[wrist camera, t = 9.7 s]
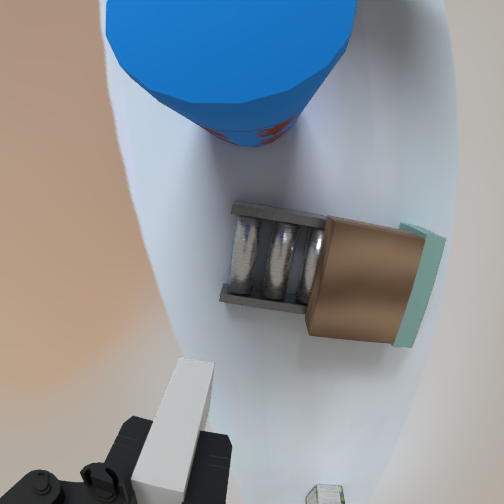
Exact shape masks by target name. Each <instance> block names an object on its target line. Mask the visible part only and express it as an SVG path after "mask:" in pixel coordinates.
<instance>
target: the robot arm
mask: <svg viewBox="0 0 504 504" xmlns="http://www.w3.org/2000/svg"><path fill="white" fill-rule="evenodd" d="M214 364H215V363H210V362H205V361H199V360H194V359H189V358H183V357H180V358H179V360H178V363H177V365H176V367H175V370H174V372H173V374H172V377H171V379H170V382H169V384H168V387H167V389H166V392H165V394H164V396H163V399H162V401H161V404H160V406H159V409H158V411H157V414H156V416H155V419H154V421H151V420H147V419H143V418H139V417H136V416H132V417H131V418H130V419H128V420H127V421H126V422H124V423H123V425H122V427H121V429H120V431H119V434H118V436H117V437H116V439H115V442H114V444H113V445H112V448H111V450H110V452H109V454H108V456H107V458H106V460H105V462H104V463H100V462H98V463H91V464H89V465H87V466H85V467H84V468H83V469H82V470H81V471H80V474H81V476H82V478H83V481H84V482H68V481H60V480H58V479H57V478H56V477H55V476H54V475H53V474H52V473H50V472H48V471H45V470H34V471H31V472H29V473H28V474H26V475H25V476H24V477H23V478H22V479H21V480H20V481H19V482H17V483H16V484H15V485H14V486H13V487H12V488H11V489H10V490H9V491H8V492H6V493H5V494H4V495H3V496H2V497H1V498H0V504H226V493H227V485H228V477H229V468H230V460H231V452H232V445H231V442H230V440H229V437H228V435H224V434H218V433H212V432H206V431H205V426H206V422H207V417H208V412H209V408H210V399H211V390H212V381H213V373H214Z"/></svg>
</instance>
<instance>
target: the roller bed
mask: <svg viewBox="0 0 504 504" xmlns="http://www.w3.org/2000/svg"><path fill="white" fill-rule="evenodd" d="M231 214H237V215H238V216H237V223H236V230H235V237H234V244H233V251H232V258H231V265H230V272H229V279H228V284H223V287H222V290H221V293H220V300H219V301H220V302H226V303H232V304H238V305H245V306H251V307H258V308H265V309H271V310H278V311H285V312H293V313H300V314H306V312H307V308H308V303H309V299H310V295H311V291H312V286H313V282H314V277H315V273H316V268H317V264H318V259H319V254H320V250H321V245H322V240H323V235H324V230H325V225H326V220H327V216H323V215H317V214H311V213H306V212H300V211H294V210H288V209H282V208H276V207H270V206H264V205H257V204H251V203H245V202H238V201H235V202H234V203H233V205H232V212H231ZM263 219H269V220H274V224H273V230H272V236H271V241H270V247H269V253H268V259H267V265H266V270H265V276H264V282H263V288H262V290H260V289H254V288H252V284H253V278H254V272H255V266H256V260H257V254H258V247H259V241H260V235H261V229H262V223H263ZM299 224H300V225H305V226H310V227H309V233H308V238H307V243H306V248H305V253H304V258H303V263H302V268H301V273H300V278H299V282H298V287H297V292H296V295H294V294H287V293H286V291H287V286H288V281H289V276H290V271H291V266H292V261H293V256H294V251H295V245H296V240H297V235H298V229H299Z"/></svg>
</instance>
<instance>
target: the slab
mask: <svg viewBox="0 0 504 504" xmlns="http://www.w3.org/2000/svg"><path fill="white" fill-rule="evenodd" d="M424 244H425V239H423V238H421V237H419V236H417V235H415V234H413V233H411V232H408V231H403V230H398V229H394V228H389V227H384V226H379V225H374V224H369V223H364V222H359V221H354V220H349V219H344V218H338V217H333V216H328V215H327V220H326V225H325V230H324V235H323V240H322V245H321V250H320V254H319V259H318V264H317V268H316V273H315V277H314V282H313V286H312V291H311V295H310V299H309V303H308V308H307V312H306V316H305V321H306V325H307V329H308V333H309V335H310V336H318V337H327V338H336V339H346V340H356V341H367V342H378V343H391V344H394V342H395V339H396V336H397V333H398V331H399V328H400V325H401V322H402V319H403V316H404V313H405V310H406V307H407V304H408V301H409V298H410V295H411V291H412V288H413V285H414V281H415V278H416V274H417V271H418V267H419V263H420V260H421V256H422V252H423V248H424Z"/></svg>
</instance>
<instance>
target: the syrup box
mask: <svg viewBox="0 0 504 504" xmlns="http://www.w3.org/2000/svg"><path fill="white" fill-rule="evenodd" d="M306 504H345V500H344V494H343V488H342V486H337V485H316V486H315V487H314V488H313V490H312V491H311V492H310V493H309V494H308V496H307V497H306Z"/></svg>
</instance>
